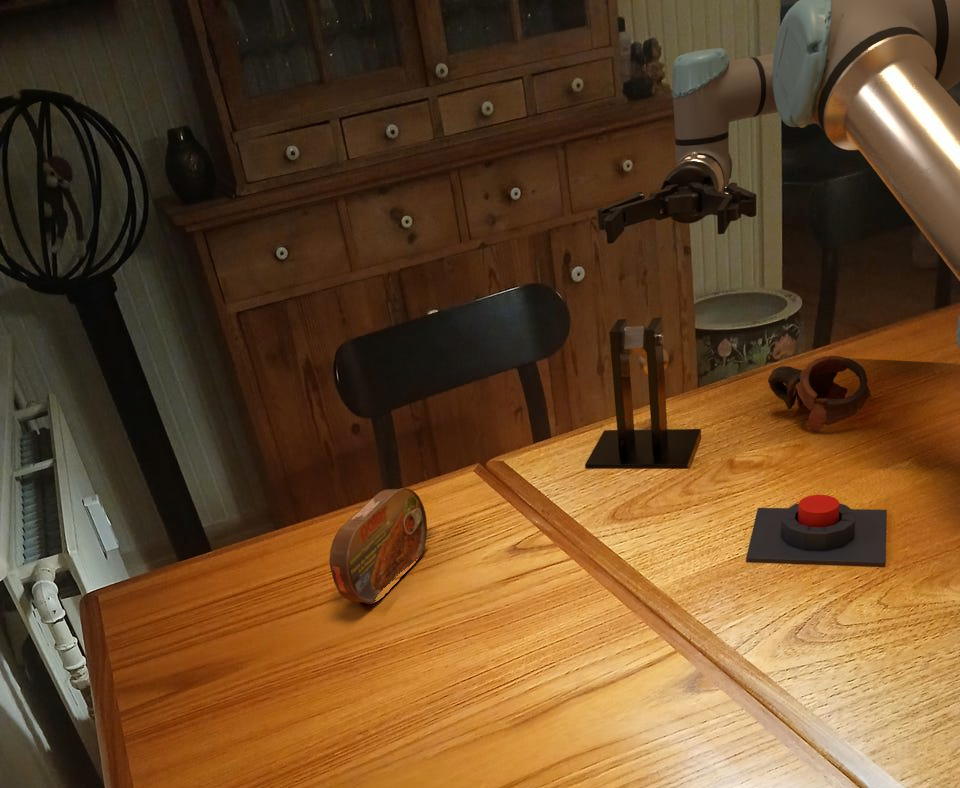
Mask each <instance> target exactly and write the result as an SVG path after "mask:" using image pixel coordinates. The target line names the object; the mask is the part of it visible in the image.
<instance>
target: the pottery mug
mask: <svg viewBox="0 0 960 788" xmlns="http://www.w3.org/2000/svg"><path fill="white" fill-rule="evenodd" d="M846 370H850V371H851V372H853V373H854V374H855V376H856V377H857V378H858V380H859V387H858V388H857V390H856V391H855V392H854V393H853V394H851V395H849V396H847V394H848V392H849V389H848V388H847V387H845V386H843V385H841V384H839V383H837V382H835V378H836V376H837V375H838V374H839V373H842V372H845V371H846ZM868 382H869V379H868V375H867V373H866V370H865V368H864V367H863V366H862V365H861V364H860V363H859V362H857V361H855V360H853V359H851V358H848V357H844V356H840V355H829V356H828V355H827V356H826V355H825V356H822V357H819V358H816V359H814V360H813V361H811V362H810V363H809V364H808V365H807V366H806V367H805V368H804V369H798V368H795V367H792V366H789V365H788V366H787V365H786V366H785V365H781V366H778V367H776V368H774V369H773V370H772V371H771V373H770V375H769V377H768V380H767V383H768V384H769V388H770V390H771V392H772V393H773V394H774V395H775V396H776V397H777V398H779V399H780V400H781V401H783V402H784V404H785V406H786V408H787V410H792V408H793V407H794V406H795V404H796V400H797V407H798V408H802V407H803V406H805V407H806V408H807V410H809V411H810V413H809V417H808V419H807V420H806V422H805V423H806V428H808V429H810V430H812V431H813V432H820V430H821V429H823V428H824V426H830V425H832V424H836V423H839V422H841V421H844V420H847V419H849V418H851V417H853V416H855V415H857V414H858V410H862V409H863V407H864V406H865V405H866V403H867V401H868V399H870V398H871V397H872V394H871V390H870V388H869V385H868ZM819 399H825V405H823V404H820V403H819V402H817V400H819Z"/></svg>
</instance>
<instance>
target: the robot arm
mask: <svg viewBox="0 0 960 788" xmlns="http://www.w3.org/2000/svg"><path fill="white" fill-rule="evenodd" d="M728 55H729V54H728V51H727V50H726V49H725V48H722V47H717V48H716V47H715V48H707V49H703V50H702V49H701V50H695V51H690V52H686V53H683V54H681V55H679V56H677V57H676V58H675V60H674V62H673V66H672V90H671V97H672V106H673V119H674V121H673V122H674V136H675V137H674V139H675V144H674V148H675V149H674V154H675V167H673V169H672V170H671V171H670V172H669V173H668V174H667V176H666V177H665V178H664V180H663V183H662V185H661V187H660V190H656V191H652V192H650V193H649V195H648V196H647V197H646V195H645V194H646V193H645V194H644V192H643V191H637V192H635V193H634V194H632V195H630V196H628V197H626V198H622V199H620V200H618V201H615V202H613V203H610V204H607V205H605V206H602V207H599V208H597V210H596V211H597V223H598V224H597V225H598V230H600V231H604V232H605V233H606V243H607V244H608V245H609V244H614V243H616V241H617V240H618V238H619V237H620V236H621V235H622V234H623V233H624V231H625V228H626V227H630V226H633V225H636V224H639V223H642V222H647V221H650V220H652V221H657V222H658V221H659V222H660V221H662V220H665V219H671V220H672V221H673V222H675V223H678V224H682V225H690V224H695V223H698V222H700V221H701V220H703V219H704V218H706V217H707V216H711V215H713V216H716V218H717V221H716V222H717V223H716V224H717V235H724V234H725V233H726V231H727V229H728V228H729V225H730V223H731V222H736V221H738V220H739V219H741V218H742V216H745V217H748V218H753V217H756V216H757V213H758V212H757V208H758V207H757V203H758V202H757V200H758V199H757V193H754V192H752V191H750V190H748V189H745V188H743V187H740V186H739V185H738V183H737V182H734V181H733V182H730V180H731V178H732V173H733V160H732V156H731V154H730V150H729V149H730V148H729V145H730V143H729V142H730V141H729V136H730V131H729V130H730V123H731V122H732V123H733V122H736V121H741V120H745V119H751V118H756V117H759V116H766V115H770V114H774V113H776V114H777V113H778V116H779V118H780V119H781V120H782V121H781V122H783V123H784V124H785V125H786V126H788V127H791V128H795V127H796V128H797V127H799V128H800V129H802V128H806V127H807V126H808V125H813V124H815V125H818V126H819V128H820V129H821V130H822V132H823V133H824V134H825V135H826V137H827V138H828V139H829V141H830V142H831V143H832V144H833V145H834V146H836V147H838V148H840V149H842V150H845V151H846V150H847V151H859V152H860V153H861V154H862V156H863V157H864V158H865V160H866V161H867V163H869V165H870V166H871V168H872V169H873V170H874V171H875V172H876V174H877V175H878V177H879V178H880V179H881V180H882V182H883V183H884V185H885V186H886V187H887V188H888V190H889V191H890V192H891V194H892V195H893V196H894V197H895V199H896V200H897V201H898V202H899V204H900V205H901V207H902V208H903V209H904V211H905V212H906V213H907V214H908V216H909V217H910V219H911V220H912V221H913V222H914V223H915V225H916V227H918V229H919V230H920V231H921V233H922V234H923V235H924V236H925V238H926V239H927V240H928V242H929V243H930V244H931V245H932V247H933V248H934V249H935V251H936V252H937V254H938V255H939V256H940V258H941V259H942V260H943V261H944V263H945V264H946V265H947V266H948V268H949V269H950V270H951V272H952V273H953V274H954V275H955V277H956V278H957V279H958V281H959V282H960V105H959V104H958V103H957V102H956V101H955V100H954V98H953V97H952V96H951V95H950V94H949V93H948V92H947V91H948V90H951V88H953V87H955V86H956V85H957V84H958V83H960V0H797V1H796V2H795V3H794V4H793V5H792V6H791V7H790V8H789V9H788V11H787V12H786V13H785V15H784V17H783V18H782V21H781V24H780V26H779V29H778V32H777V37H776V40H775V45H774V52H772V53H766V54H763V55H759V56H751V57H744V58H738V59H733V60H732V59H731V60H729V56H728ZM959 308H960V305H959ZM957 318H958V319H957V324H956V332H955V333H956V346H957V348H960V313H959V314H958V317H957Z"/></svg>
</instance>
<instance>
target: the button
mask: <svg viewBox="0 0 960 788" xmlns="http://www.w3.org/2000/svg"><path fill="white" fill-rule="evenodd" d="M798 503H799V505H798V522H799V523H800V524H802V525H805V526H808V527H827V526H832V525H835V524H837V522H838V520H839V505H840V504H841V503H840V501H839V500H838V499H837V498H836V497H834V496H831V495H829V494H828V495H827V494H812V495H807V496H805V497H803V498H801V499H800V500H799V501H798ZM839 503H840V504H839Z"/></svg>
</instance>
